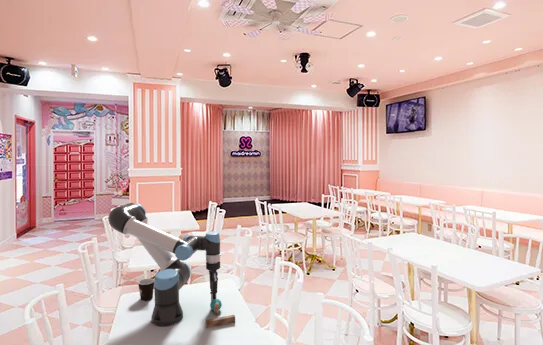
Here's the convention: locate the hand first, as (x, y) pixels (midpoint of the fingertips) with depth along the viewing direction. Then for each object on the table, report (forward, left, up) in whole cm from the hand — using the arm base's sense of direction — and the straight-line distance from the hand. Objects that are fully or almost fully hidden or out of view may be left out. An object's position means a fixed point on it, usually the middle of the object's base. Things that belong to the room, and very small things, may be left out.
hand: (213, 303), depth 172 cm
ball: (0, -4, +1) cm, 4 cm away
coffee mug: (-34, +23, -2) cm, 41 cm away
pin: (0, -7, -1) cm, 7 cm away
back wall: (0, -18, -2) cm, 18 cm away
